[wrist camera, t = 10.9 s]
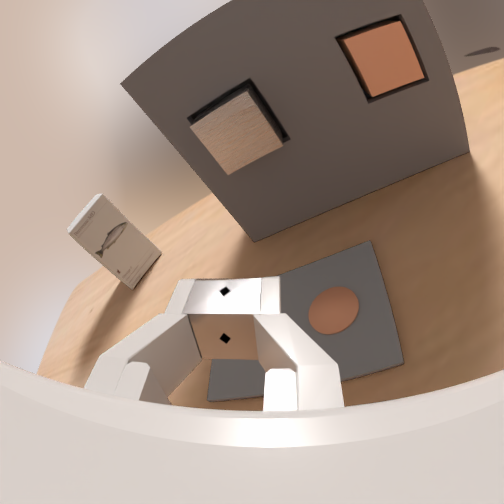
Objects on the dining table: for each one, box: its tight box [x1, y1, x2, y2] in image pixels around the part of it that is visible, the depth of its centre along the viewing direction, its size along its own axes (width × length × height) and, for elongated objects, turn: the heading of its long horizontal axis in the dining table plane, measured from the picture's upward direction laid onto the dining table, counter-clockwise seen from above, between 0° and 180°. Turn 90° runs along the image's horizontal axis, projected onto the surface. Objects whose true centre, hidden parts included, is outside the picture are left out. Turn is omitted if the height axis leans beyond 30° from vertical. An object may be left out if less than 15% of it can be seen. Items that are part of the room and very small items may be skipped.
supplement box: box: [67, 194, 162, 290], centre depth 39 cm, size 7×7×13 cm
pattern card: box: [207, 240, 404, 402], centre depth 20 cm, size 10×14×1 cm
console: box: [120, 0, 470, 242], centre depth 21 cm, size 6×24×20 cm, turn 86°
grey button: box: [190, 84, 283, 175], centre depth 21 cm, size 3×5×5 cm, turn 86°
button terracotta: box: [336, 21, 424, 97], centre depth 17 cm, size 3×5×5 cm, turn 84°
